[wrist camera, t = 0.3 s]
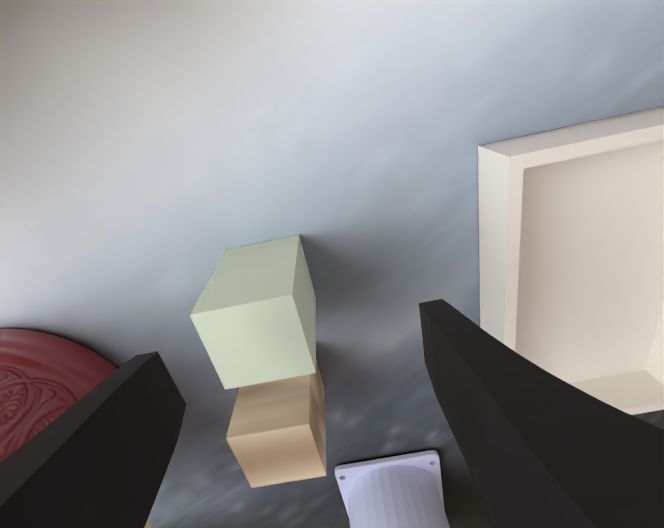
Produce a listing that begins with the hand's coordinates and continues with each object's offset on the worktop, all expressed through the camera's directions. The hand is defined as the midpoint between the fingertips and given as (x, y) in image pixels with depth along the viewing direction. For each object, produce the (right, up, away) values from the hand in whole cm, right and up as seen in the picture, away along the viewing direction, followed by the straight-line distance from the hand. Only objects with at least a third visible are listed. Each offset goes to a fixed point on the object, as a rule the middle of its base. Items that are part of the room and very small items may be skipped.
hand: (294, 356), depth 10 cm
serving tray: (+15, +2, +11) cm, 19 cm away
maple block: (-2, -4, +13) cm, 14 cm away
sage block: (-2, +2, +10) cm, 10 cm away
